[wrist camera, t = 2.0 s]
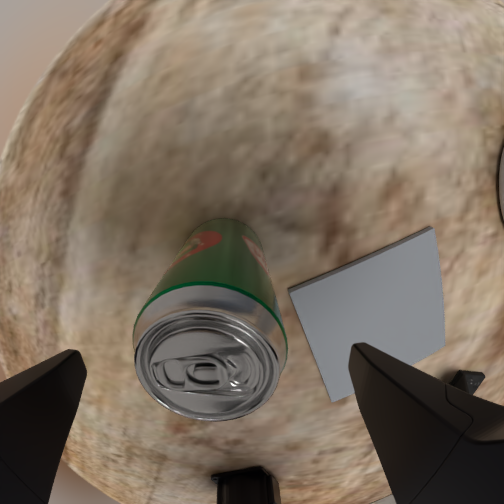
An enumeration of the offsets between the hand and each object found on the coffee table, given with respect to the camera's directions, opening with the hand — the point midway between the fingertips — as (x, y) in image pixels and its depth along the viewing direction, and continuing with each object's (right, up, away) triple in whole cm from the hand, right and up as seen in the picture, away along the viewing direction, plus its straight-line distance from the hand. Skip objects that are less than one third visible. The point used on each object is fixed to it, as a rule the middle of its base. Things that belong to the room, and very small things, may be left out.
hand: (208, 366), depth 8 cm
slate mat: (+12, -2, +13) cm, 18 cm away
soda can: (-1, +3, +11) cm, 12 cm away
